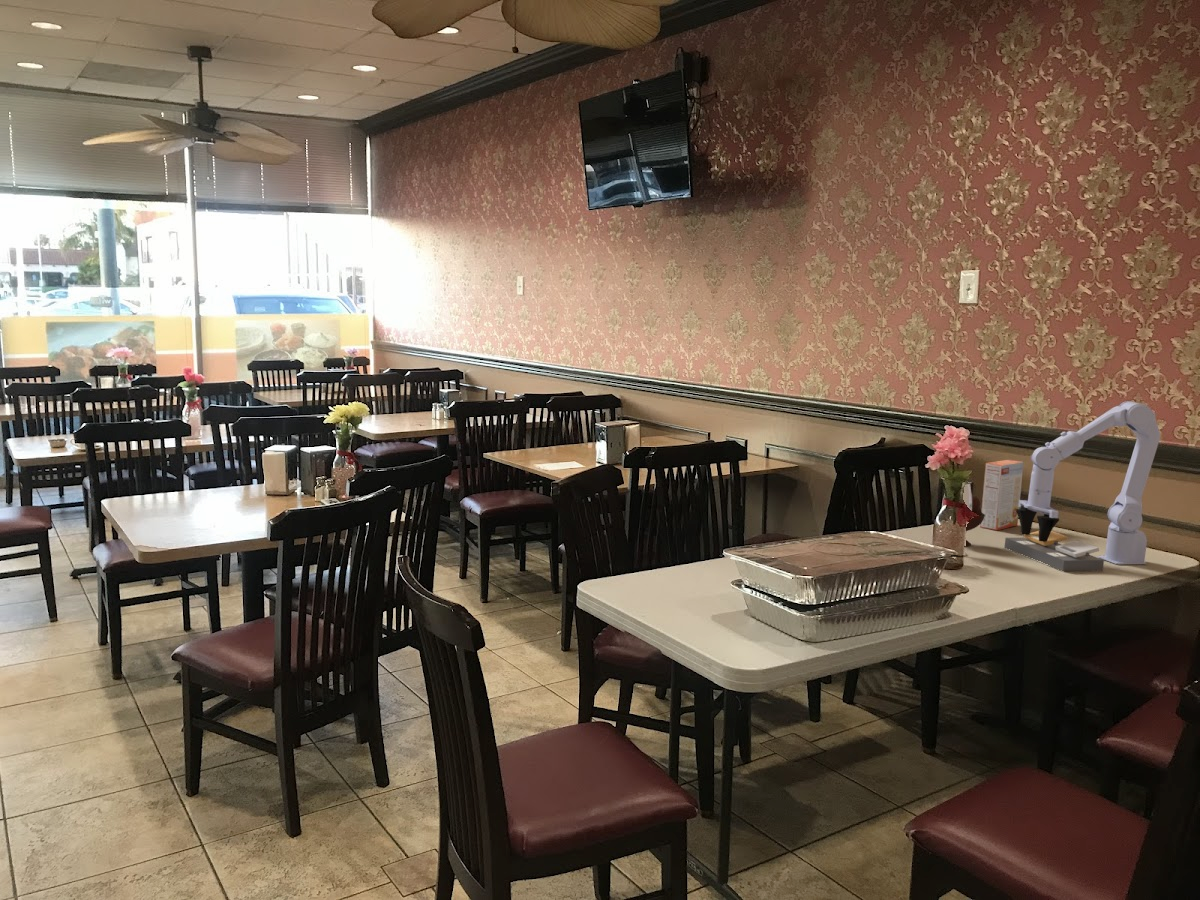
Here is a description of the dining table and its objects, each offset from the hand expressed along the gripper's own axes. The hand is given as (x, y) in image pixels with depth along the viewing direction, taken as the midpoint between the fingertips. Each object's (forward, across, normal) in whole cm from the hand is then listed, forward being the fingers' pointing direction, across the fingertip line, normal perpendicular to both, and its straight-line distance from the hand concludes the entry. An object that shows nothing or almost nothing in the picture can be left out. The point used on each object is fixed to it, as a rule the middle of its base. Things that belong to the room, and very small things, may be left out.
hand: (1034, 537), depth 268 cm
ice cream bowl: (+5, -11, -15) cm, 19 cm away
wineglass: (+5, -1, -24) cm, 25 cm away
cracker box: (+5, -33, +12) cm, 35 cm away
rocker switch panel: (+4, +6, +4) cm, 8 cm away
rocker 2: (0, +13, +4) cm, 14 cm away
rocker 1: (0, 0, +4) cm, 4 cm away
